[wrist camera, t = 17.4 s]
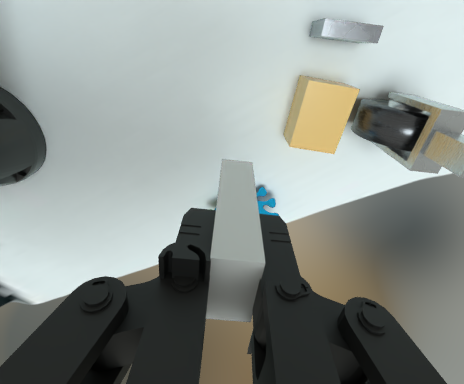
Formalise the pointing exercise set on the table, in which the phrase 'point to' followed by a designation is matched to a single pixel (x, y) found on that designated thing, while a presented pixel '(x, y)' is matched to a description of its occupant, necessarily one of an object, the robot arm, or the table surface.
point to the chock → (319, 114)
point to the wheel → (414, 131)
